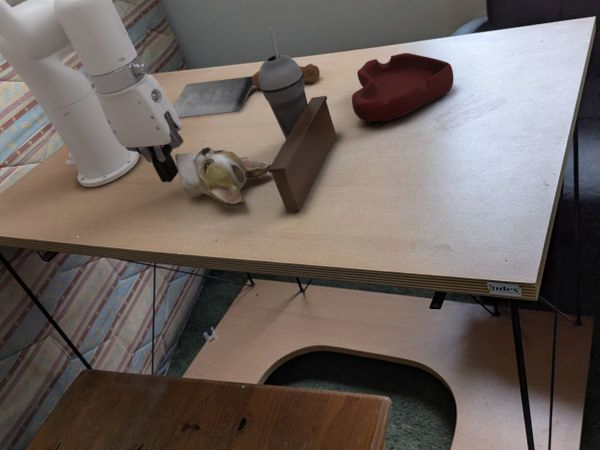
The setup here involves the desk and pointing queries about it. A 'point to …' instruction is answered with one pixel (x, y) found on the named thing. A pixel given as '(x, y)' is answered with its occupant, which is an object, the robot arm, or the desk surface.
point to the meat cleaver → (224, 94)
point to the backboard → (303, 154)
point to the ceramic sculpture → (217, 174)
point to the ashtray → (399, 86)
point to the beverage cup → (283, 88)
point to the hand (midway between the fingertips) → (170, 177)
